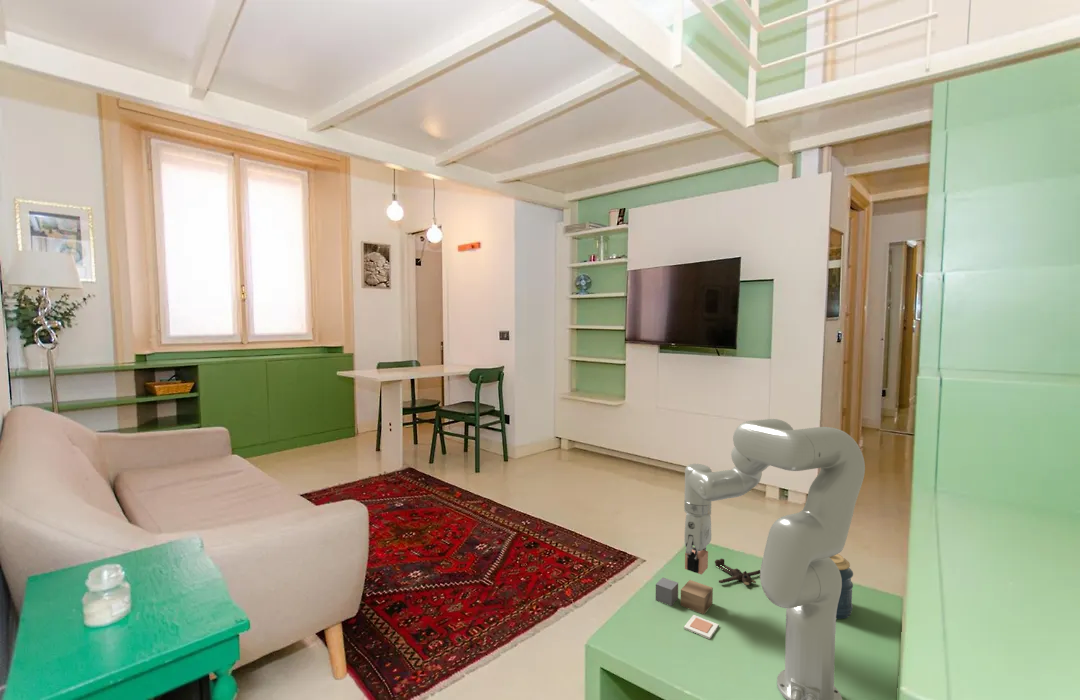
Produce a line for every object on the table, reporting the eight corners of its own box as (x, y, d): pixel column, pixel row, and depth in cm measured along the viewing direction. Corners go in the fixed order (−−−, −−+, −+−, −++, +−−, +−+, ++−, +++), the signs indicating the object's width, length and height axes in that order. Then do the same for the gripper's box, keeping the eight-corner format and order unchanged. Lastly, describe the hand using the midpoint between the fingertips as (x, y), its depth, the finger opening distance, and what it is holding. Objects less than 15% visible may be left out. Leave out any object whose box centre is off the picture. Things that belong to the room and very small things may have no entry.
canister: (863, 617, 131) (865, 556, 130) (822, 622, 129) (824, 560, 128) (828, 592, 144) (829, 536, 143) (790, 596, 142) (791, 539, 141)
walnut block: (704, 615, 133) (704, 598, 132) (680, 606, 137) (680, 589, 137) (712, 604, 138) (712, 587, 138) (689, 595, 142) (689, 579, 142)
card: (709, 639, 122) (709, 636, 122) (683, 628, 126) (683, 626, 126) (718, 626, 127) (718, 623, 127) (693, 616, 132) (693, 614, 131)
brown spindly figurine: (738, 553, 164) (772, 568, 150) (739, 565, 164) (773, 582, 150) (697, 562, 157) (729, 579, 144) (698, 575, 157) (730, 593, 144)
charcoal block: (671, 606, 137) (671, 589, 137) (655, 600, 140) (655, 584, 140) (678, 598, 141) (678, 582, 140) (662, 593, 144) (662, 577, 144)
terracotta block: (701, 574, 134) (702, 557, 134) (684, 568, 137) (685, 552, 137) (707, 567, 138) (708, 551, 138) (691, 562, 141) (691, 546, 141)
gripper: (699, 519, 128) (698, 583, 128) (720, 501, 141) (718, 560, 142) (673, 512, 132) (672, 574, 133) (695, 496, 146) (694, 552, 146)
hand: (696, 566), depth 137 cm, fingers closed on terracotta block, 5 cm apart
